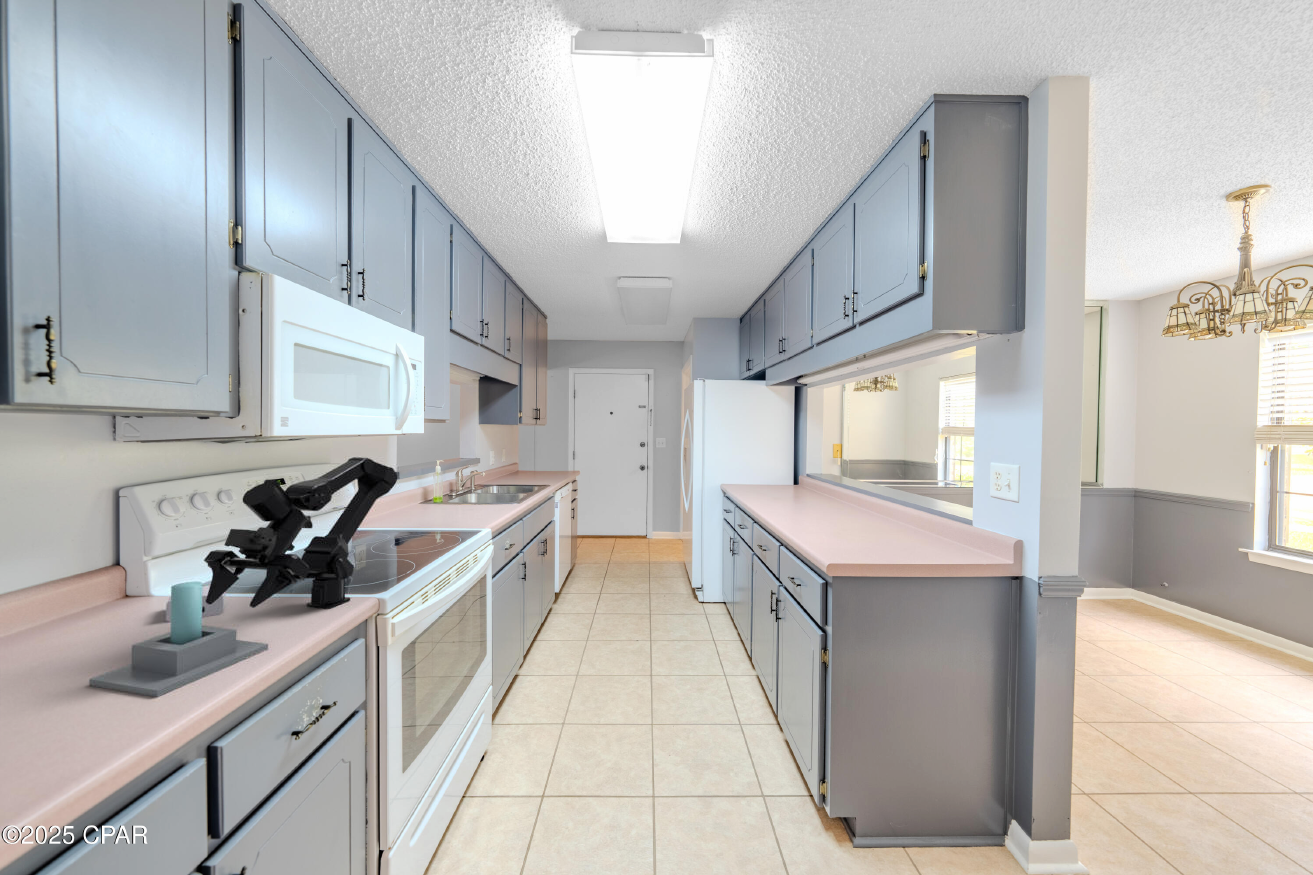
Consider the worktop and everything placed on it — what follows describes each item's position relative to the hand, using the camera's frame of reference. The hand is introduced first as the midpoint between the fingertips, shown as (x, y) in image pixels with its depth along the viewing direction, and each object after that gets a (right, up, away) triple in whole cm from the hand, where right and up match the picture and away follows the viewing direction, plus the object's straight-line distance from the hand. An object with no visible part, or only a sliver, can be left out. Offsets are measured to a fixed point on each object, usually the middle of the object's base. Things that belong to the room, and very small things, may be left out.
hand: (229, 605), depth 98 cm
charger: (-23, -8, +20) cm, 32 cm away
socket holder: (-1, -8, -8) cm, 11 cm away
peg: (-1, -7, -8) cm, 11 cm away
